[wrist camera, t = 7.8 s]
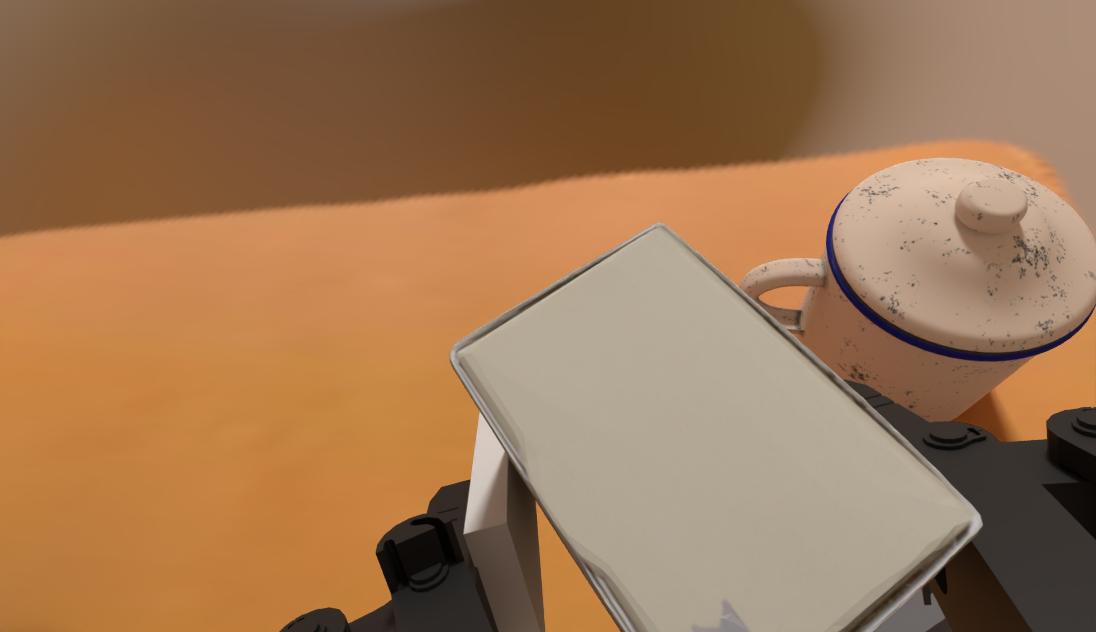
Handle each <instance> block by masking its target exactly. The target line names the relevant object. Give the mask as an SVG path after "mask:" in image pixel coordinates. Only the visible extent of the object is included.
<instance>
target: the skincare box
mask: <svg viewBox="0 0 1096 632" xmlns="http://www.w3.org/2000/svg"><path fill="white" fill-rule="evenodd" d="M450 363H451V365H452V367H453V369H454V371H455V372H456V374H457V376H458V377H459V379H460V380H461V382H462V384H463V385H464V387H465V388H466V390H467V392H468V393H469V395H470V396H471V398H472V399H473V401H474V403H475V404H476V406H477V407H478V409H479V411H480V412H481V414H482V415H483V417H484V419H485V420H486V422H487V423H488V425H489V427H490V428H491V430H492V431H493V433H494V435H495V436H496V438H497V439H498V441H499V443H500V444H501V446H502V447H503V449H504V451H505V452H506V454H507V455H508V457H509V459H510V460H511V462H512V463H513V465H514V467H515V468H516V470H517V471H518V473H519V474H520V476H521V478H522V479H523V481H524V482H525V484H526V486H527V487H528V489H529V490H530V492H531V493H532V495H533V497H534V498H535V500H536V501H537V503H538V505H539V506H540V508H541V509H542V511H543V512H544V514H545V516H546V517H547V519H548V520H549V522H550V523H551V525H552V527H553V528H554V530H555V531H556V533H557V534H558V536H559V538H560V539H561V541H562V542H563V544H564V545H565V547H566V549H567V550H568V552H569V553H570V555H571V556H572V558H573V559H574V561H575V562H576V564H577V565H578V567H579V568H580V570H581V571H582V573H583V575H584V576H585V578H586V579H587V581H588V582H589V584H590V585H591V587H592V588H593V590H594V592H595V593H596V595H597V596H598V598H599V599H600V601H601V602H602V604H603V605H604V607H605V608H606V610H607V611H608V613H609V614H610V616H611V617H612V619H613V620H614V622H615V623H616V625H617V627H618V628H619V630H620V631H621V632H874V631H875V630H876V629H878V628H879V627H880V626H881V625H882V624H883V623H884V622H885V621H886V620H888V619H889V618H890V617H891V616H892V615H893V614H894V613H895V612H897V611H898V610H899V609H900V608H901V607H902V606H903V605H904V604H905V603H906V602H908V601H909V600H910V599H911V598H912V597H913V596H914V595H915V594H916V593H918V592H919V591H920V590H921V589H922V588H923V587H924V586H925V585H926V584H927V583H929V582H930V581H931V580H932V579H933V578H934V577H935V576H936V575H937V574H938V573H939V572H940V571H941V570H942V569H943V568H944V567H945V566H946V565H947V564H948V563H949V562H950V561H951V560H952V559H953V558H954V557H955V556H956V555H957V554H958V553H959V552H960V551H961V550H962V549H963V548H964V547H965V546H966V545H967V544H968V543H969V542H970V541H972V540H973V539H974V538H975V537H976V536H977V535H978V534H979V532H980V531H981V529H982V526H983V523H982V519H981V515H980V514H979V513H978V511H977V510H976V509H975V508H974V507H973V505H972V504H971V503H970V502H969V501H968V500H966V499H965V498H964V497H963V496H962V495H961V494H960V493H959V492H958V491H957V490H956V489H955V488H954V487H953V486H952V485H951V484H950V483H949V482H948V480H947V479H946V478H945V477H944V476H943V475H942V474H941V473H940V472H939V471H938V469H936V468H935V467H934V466H933V465H932V464H931V463H930V462H929V461H928V460H927V459H926V458H925V457H923V456H922V455H921V454H920V453H919V452H918V451H917V450H916V449H915V448H914V447H913V446H912V445H911V444H910V443H909V442H908V441H907V439H906V438H905V437H904V436H902V435H901V434H900V433H899V432H898V431H897V430H896V429H895V428H894V427H893V426H892V425H891V424H890V423H889V422H888V421H887V420H886V419H884V418H883V417H882V416H881V415H880V414H879V413H878V412H877V411H876V410H875V409H874V408H872V407H871V406H870V405H869V404H868V403H867V401H866V400H865V399H864V398H863V397H861V396H860V395H859V394H858V393H857V392H856V391H854V390H853V389H852V388H851V387H850V386H849V385H848V384H847V383H846V382H845V381H843V380H842V379H841V378H840V377H839V376H838V375H837V374H836V373H835V372H834V371H833V370H832V369H830V368H829V367H828V366H827V365H826V364H824V363H823V362H822V361H821V360H820V359H819V358H818V357H817V356H816V355H815V354H814V353H813V352H812V351H811V350H809V349H808V348H807V347H806V346H805V345H804V344H803V343H801V342H800V341H799V340H798V339H797V338H796V337H795V336H794V335H793V334H791V333H790V332H789V331H788V330H787V329H786V328H785V327H784V326H782V325H781V324H780V323H779V322H778V321H777V320H776V319H775V318H773V317H772V316H771V315H770V314H769V313H768V312H767V311H766V310H764V309H763V308H762V307H761V306H760V305H759V304H758V303H757V302H755V301H754V300H753V299H752V298H751V297H750V296H748V295H747V294H746V293H745V292H744V291H743V290H742V289H741V288H740V287H738V286H737V285H736V284H735V283H734V282H733V281H732V280H730V279H729V278H728V277H727V276H726V275H725V274H723V273H722V272H721V271H720V270H718V269H717V268H716V267H715V266H714V265H712V264H711V263H710V262H709V261H708V260H707V259H706V258H705V257H704V256H702V255H701V254H700V253H699V252H697V251H696V250H695V249H694V248H692V247H691V246H690V245H689V244H688V243H687V242H685V241H684V240H683V239H682V238H681V237H680V236H678V235H677V234H676V233H675V232H674V231H673V230H671V229H670V228H669V227H668V226H667V225H666V224H663V223H661V222H660V223H655V224H653V225H651V226H649V227H648V228H646V229H644V230H643V231H641V232H640V233H638V234H636V235H635V236H633V237H631V238H630V239H628V240H627V241H625V242H623V243H621V244H620V245H618V246H616V247H614V248H612V249H610V250H609V251H607V252H605V253H603V254H602V255H600V256H599V257H597V258H595V259H594V260H592V261H590V262H588V263H587V264H585V265H583V266H581V267H580V268H578V269H576V270H574V271H572V272H571V273H569V274H567V275H566V276H564V277H563V278H561V279H559V280H558V281H556V282H554V283H553V284H551V285H550V286H548V287H547V288H545V289H543V290H542V291H540V292H538V293H537V294H535V295H533V296H531V297H530V298H528V299H526V300H525V301H523V302H521V303H520V304H518V305H516V306H514V307H513V308H511V309H509V310H508V311H506V312H505V313H503V314H502V315H500V316H498V317H497V318H495V319H494V320H492V321H490V322H489V323H487V324H485V325H484V326H482V327H481V328H479V329H477V330H476V331H474V332H472V333H471V334H469V335H467V336H466V337H464V338H463V339H461V340H460V341H458V342H456V343H455V345H454V346H453V348H452V350H451V351H450Z"/></svg>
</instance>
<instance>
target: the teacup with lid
mask: <svg viewBox="0 0 1096 632" xmlns="http://www.w3.org/2000/svg"><path fill="white" fill-rule="evenodd" d="M787 286H809V287H808V289H807V292H806V294H805V296H804V299H803V301H802V303H801V306H800V308H799V310H794V309H783V308H777V307H773V306H770V305H767V304H765V303H764V302H762V301H761V300H760V299H759V298H758V297H759V296H760V295H761V294H763V293H764V292H767V291H769V290H772V289H776V288H780V287H787ZM740 288H741V289H742V290H743V291H744V292H745V293H746V294H747V295H748V296H750V297H751V298H752V299H753V300H754V301H755V302H757V303H758V304H759V305H760V306H761V307H762V308H763V309H764V310H766V311H767V312H768V313H769V314H770V315H771V316H772V317H773V318H775V319H776V320H777V321H778V322H779V323H780V324H781V325H782V326H784V327H785V328H786V329H787V330H788V331H789V332H790V333H791V334H793V335H794V336H795V337H796V338H797V339H798V340H799V341H800V342H801V343H803V344H804V345H805V346H806V347H807V348H808V349H809V350H811V351H812V352H813V353H814V354H815V355H816V356H817V357H818V358H819V359H820V360H821V361H822V362H823V363H824V364H826V365H827V366H828V367H829V368H830V369H832V370H833V371H834V372H835V373H836V374H837V375H838V376H839V377H840V378H841V379H842V380H843V379H845V380H849V381H853V382H857V383H861V384H865V385H867V386H869V387H871V388H873V389H874V390H876V391H878V392H879V393H881V394H882V396H886V397H888V398H889V399H891V400H893V401H894V403H895V404H896V403H898V404H900V405H901V406H903V407H905V408H906V409H908V410H910V411H911V412H913V413H915V414H916V415H918V416H920V417H922V418H923V419H925V420H927V421H928V422H943V421H952V420H954V419H955V418H957V417H958V416H960V415H961V414H962V413H964V412H965V411H966V410H967V409H969V408H970V407H971V406H972V405H974V404H975V403H976V402H977V401H979V400H980V399H981V398H982V397H984V396H985V395H986V394H987V393H989V392H990V391H991V390H992V389H994V388H995V387H996V386H998V385H999V384H1000V383H1001V382H1003V381H1004V380H1005V379H1006V378H1008V377H1009V376H1010V375H1011V374H1013V373H1014V372H1015V371H1016V370H1018V369H1019V368H1020V367H1021V366H1023V365H1024V364H1025V363H1026V362H1028V361H1029V360H1030V359H1031V358H1033V357H1034V356H1035V355H1038V354H1041V353H1043V352H1046V351H1049V350H1051V349H1053V348H1055V347H1057V346H1059V345H1061V344H1062V343H1064V342H1065V341H1067V340H1068V339H1070V338H1071V337H1072V336H1073V335H1074V334H1076V333H1077V332H1078V331H1079V330H1080V329H1081V328H1082V327H1083V326H1084V324H1085V323H1086V322H1087V321H1088V319H1089V317H1090V316H1091V314H1092V313H1093V310H1094V308H1095V306H1096V241H1095V239H1094V237H1093V235H1092V233H1091V232H1090V230H1089V228H1088V227H1087V225H1086V224H1085V223H1084V221H1083V220H1082V219H1081V217H1080V216H1079V215H1078V214H1077V213H1076V212H1075V211H1074V210H1073V209H1072V208H1071V207H1070V206H1069V205H1068V204H1067V203H1066V202H1065V201H1064V200H1063V199H1061V198H1060V197H1059V196H1057V195H1056V194H1055V193H1054V192H1052V191H1051V190H1049V189H1048V188H1046V187H1045V186H1043V185H1041V184H1039V183H1038V182H1036V181H1034V180H1032V179H1030V178H1028V177H1026V176H1024V175H1022V174H1019V173H1017V172H1014V171H1012V170H1009V169H1006V168H1003V167H1000V166H997V165H993V164H989V163H985V162H980V161H975V160H968V159H959V158H928V159H919V160H913V161H908V162H904V163H900V164H897V165H894V166H891V167H888V168H886V169H884V170H882V171H879V172H877V173H875V174H873V175H872V176H870V177H868V178H867V179H865V180H864V181H862V182H861V183H860V184H858V185H857V186H856V187H855V188H854V189H853V190H851V191H850V192H849V193H848V194H847V195H846V196H845V197H844V198H843V199H842V201H841V202H840V203H839V205H838V206H837V208H836V209H835V211H834V213H833V215H832V217H831V220H830V223H829V226H828V230H827V237H826V247H825V250H824V252H823V254H822V257H821V259H808V258H791V259H781V260H775V261H771V262H768V263H765V264H762V265H760V266H758V267H756V268H754V269H752V270H751V271H750V272H748V273H747V274H746V276H745V277H744V278H743V280H742V282H741V284H740Z"/></svg>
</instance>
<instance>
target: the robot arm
mask: <svg viewBox="0 0 1096 632" xmlns="http://www.w3.org/2000/svg"><path fill="white" fill-rule="evenodd" d="M843 381H845V382H846V383H847V384H848V385H849V386H850V387H851V388H852V389H853V390H854V391H856V392H857V393H858V394H859V395H860V396H861V397H863V398H864V399H865V400H866V401H867V403H868V404H869V405H870V406H871V407H872V408H874V409H875V410H876V411H877V412H878V413H879V414H880V415H881V416H882V417H883V418H884V419H886V420H887V421H888V422H889V423H890V424H891V425H892V426H893V427H894V428H895V429H896V430H897V431H898V432H899V433H900V434H901V435H902V436H904V437H905V438H906V439H907V441H908V442H909V443H910V444H911V445H912V446H913V447H914V448H915V449H916V450H917V451H918V452H919V453H920V454H921V455H922V456H923V457H925V458H926V459H927V460H928V461H929V462H930V463H931V464H932V465H933V466H934V467H935V468H936V469H938V471H939V472H940V473H941V474H942V475H943V476H944V477H945V478H946V479H947V480H948V482H949V483H950V484H951V485H952V486H953V487H954V488H955V489H956V490H957V491H958V492H959V493H960V494H961V495H962V496H963V497H964V498H965V499H966V500H968V501H969V502H970V503H971V504H972V505H973V507H974V508H975V509H976V510H977V511H978V513H979V514H980V515H981V519H982V523H983V526H982V529H981V531H980V532H979V534H978V535H977V536H976V537H975V538H974V539H973V540H972V541H970V542H969V543H968V544H967V545H966V546H965V547H964V548H963V549H962V550H961V551H960V552H959V553H958V554H957V555H956V556H955V557H954V558H953V559H952V560H951V561H950V562H949V563H948V564H947V565H946V566H945V567H944V568H943V569H942V570H941V571H940V572H939V573H938V574H937V575H936V576H935V577H934V578H933V579H932V580H931V581H930V582H929V583H927V584H926V585H925V586H924V587H923V588H922V595H923V601H924V605H932V604H931V594H932V593H933V595H934V597H935V599H936V600H937V602H938V604H939V606H940V608H941V610H942V612H943V614H944V616H945V618H946V620H947V622H948V624H949V626H950V628H951V630H952V631H953V632H1096V407H1094V408H1091V407H1082V408H1078V409H1071V410H1064V411H1061V412H1059V413H1056V414H1053V415H1052V416H1051V417H1050V418H1049V419H1048V420H1047V421H1046V425H1047V439H1044V440H1031V441H1017V442H999V441H998V440H997V439H996V438H995V437H994V435H992V434H991V433H989V432H988V431H986V430H985V429H983V428H980V427H977V426H974V425H971V424H967V423H960V422H952V421H943V422H928V421H927V420H925V419H923V418H922V417H920V416H918V415H916V414H915V413H913V412H911V411H910V410H908V409H906V408H905V407H903V406H901V405H900V404H898V403H896V404H895V403H894V401H893V400H891V399H889V398H888V397H886V396H882V394H881V393H879V392H878V391H876V390H874V389H873V388H871V387H869V386H867V385H865V384H861V383H857V382H853V381H849V380H845V379H843ZM376 556H377V558H378V561H379V563H380V566H381V569H382V571H383V574H384V577H385V579H386V582H387V585H388V587H389V590H390V592H391V596H392V600H390V601H389V602H388V603H386V604H385V605H384V606H382V607H380V608H378V609H377V610H375V611H373V612H371V613H369V614H367V615H365V616H363V617H361V618H359V619H357V620H355V621H353V622H351V623H349V624H348V622H347V619H346V617H345V615H344V614H343V613H342V612H341V611H340V610H339V609H334V608H330V607H329V608H323V609H317V610H314V611H311V612H309V613H307V614H304V615H301V616H300V617H298V618H296V619H295V620H294V621H291V622H290V623H289V624H287V625H286V626H285V627H284V628H283V629H282V630H281V631H280V632H545V622H544V608H543V595H542V581H541V568H540V554H539V541H538V527H537V514H536V500H535V498H534V497H533V495H532V493H531V492H530V490H529V489H528V487H527V486H526V484H525V482H524V481H523V479H522V478H521V476H520V474H519V473H518V471H517V470H516V468H515V467H514V465H513V463H512V462H511V460H510V459H509V457H508V455H507V454H506V452H505V451H504V449H503V447H502V446H501V444H500V443H499V441H498V439H497V438H496V436H495V435H494V433H493V431H492V430H491V428H490V427H489V425H488V423H487V422H486V420H485V419H484V417H483V415H482V414H481V412H480V414H479V422H478V429H477V437H476V444H475V452H474V459H473V467H472V474H471V479H470V480H466V481H463V482H459V483H455V484H451V485H448V486H444V487H441V488H440V490H439V491H438V492H437V493H436V495H435V496H434V497H433V498H432V499H431V501H430V503H429V507H428V511H427V514H422V515H418V516H415V517H412V518H409V519H407V520H405V521H403V522H402V523H400V524H398V525H396V526H395V527H393V528H392V529H391V530H390V531H388V532H387V533H386V534H385V535H384V536H383V538H382V539H381V540H380V542H379V543H378V544H377V549H376Z"/></svg>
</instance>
